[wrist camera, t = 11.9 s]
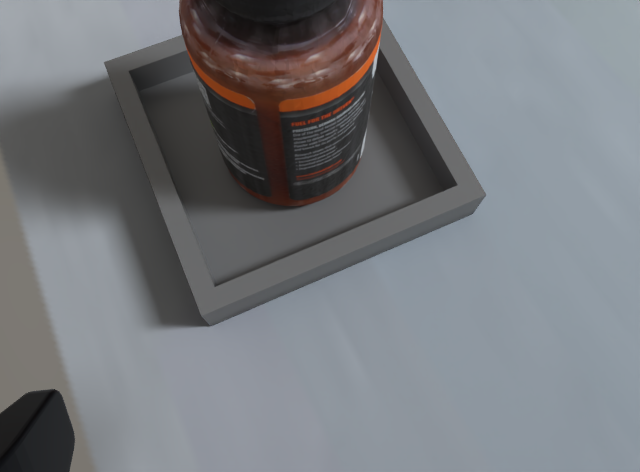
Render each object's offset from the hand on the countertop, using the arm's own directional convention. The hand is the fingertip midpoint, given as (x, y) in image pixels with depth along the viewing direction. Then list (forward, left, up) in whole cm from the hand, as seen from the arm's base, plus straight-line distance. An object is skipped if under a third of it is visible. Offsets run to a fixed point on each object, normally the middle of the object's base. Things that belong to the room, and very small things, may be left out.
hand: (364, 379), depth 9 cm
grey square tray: (+9, -7, -14) cm, 18 cm away
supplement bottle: (+9, -7, -13) cm, 17 cm away
